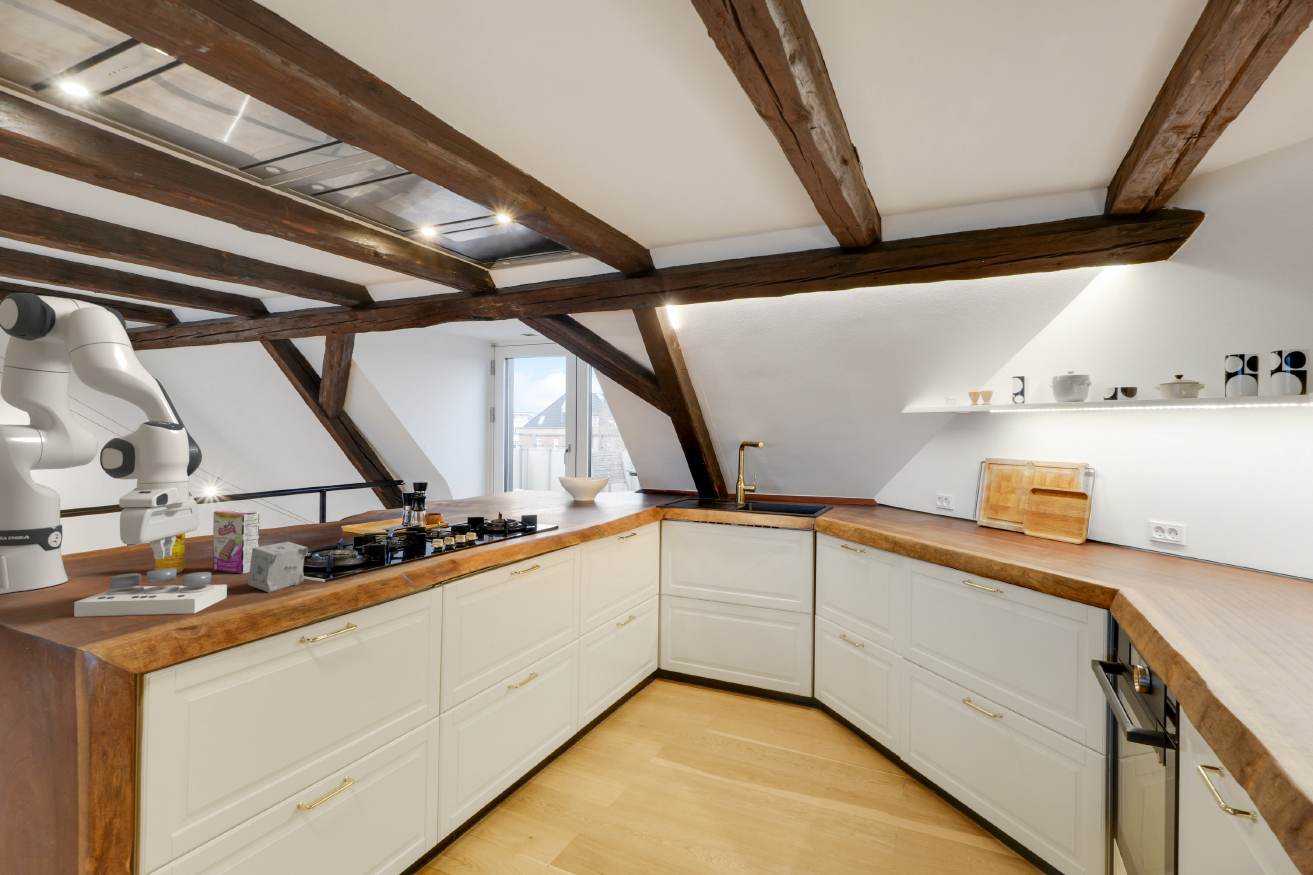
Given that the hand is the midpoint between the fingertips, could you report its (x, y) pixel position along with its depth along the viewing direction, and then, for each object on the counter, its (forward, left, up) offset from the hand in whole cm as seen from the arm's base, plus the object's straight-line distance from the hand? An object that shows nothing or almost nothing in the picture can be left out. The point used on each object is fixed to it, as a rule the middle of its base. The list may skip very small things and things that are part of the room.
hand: (162, 557), depth 129 cm
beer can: (-17, +32, -10) cm, 38 cm away
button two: (-7, 0, -6) cm, 9 cm away
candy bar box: (-1, +32, -10) cm, 34 cm away
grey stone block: (+18, +13, -11) cm, 24 cm away
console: (0, -2, -10) cm, 10 cm away
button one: (+7, 0, -6) cm, 9 cm away
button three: (0, 0, -5) cm, 5 cm away
